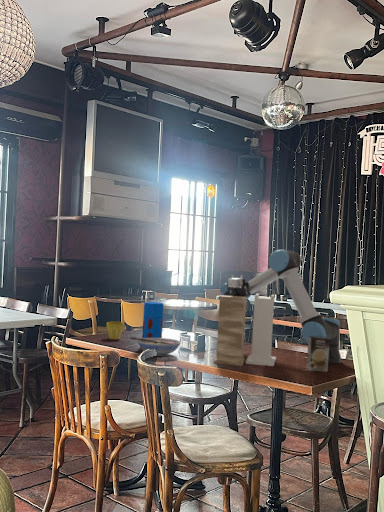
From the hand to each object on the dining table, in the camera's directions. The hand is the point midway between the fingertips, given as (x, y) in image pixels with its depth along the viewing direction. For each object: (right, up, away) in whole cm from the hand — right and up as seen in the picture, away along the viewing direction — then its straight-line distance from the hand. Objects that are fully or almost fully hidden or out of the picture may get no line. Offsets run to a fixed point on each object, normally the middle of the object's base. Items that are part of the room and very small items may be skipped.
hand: (236, 277), depth 295 cm
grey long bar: (-1, -5, -5) cm, 7 cm away
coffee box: (+38, -45, -18) cm, 61 cm away
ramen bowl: (-41, -41, -1) cm, 58 cm away
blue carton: (-46, -40, +22) cm, 65 cm away
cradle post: (+12, -43, -3) cm, 45 cm away
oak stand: (-4, -42, -10) cm, 44 cm away
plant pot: (-70, -39, +47) cm, 93 cm away
